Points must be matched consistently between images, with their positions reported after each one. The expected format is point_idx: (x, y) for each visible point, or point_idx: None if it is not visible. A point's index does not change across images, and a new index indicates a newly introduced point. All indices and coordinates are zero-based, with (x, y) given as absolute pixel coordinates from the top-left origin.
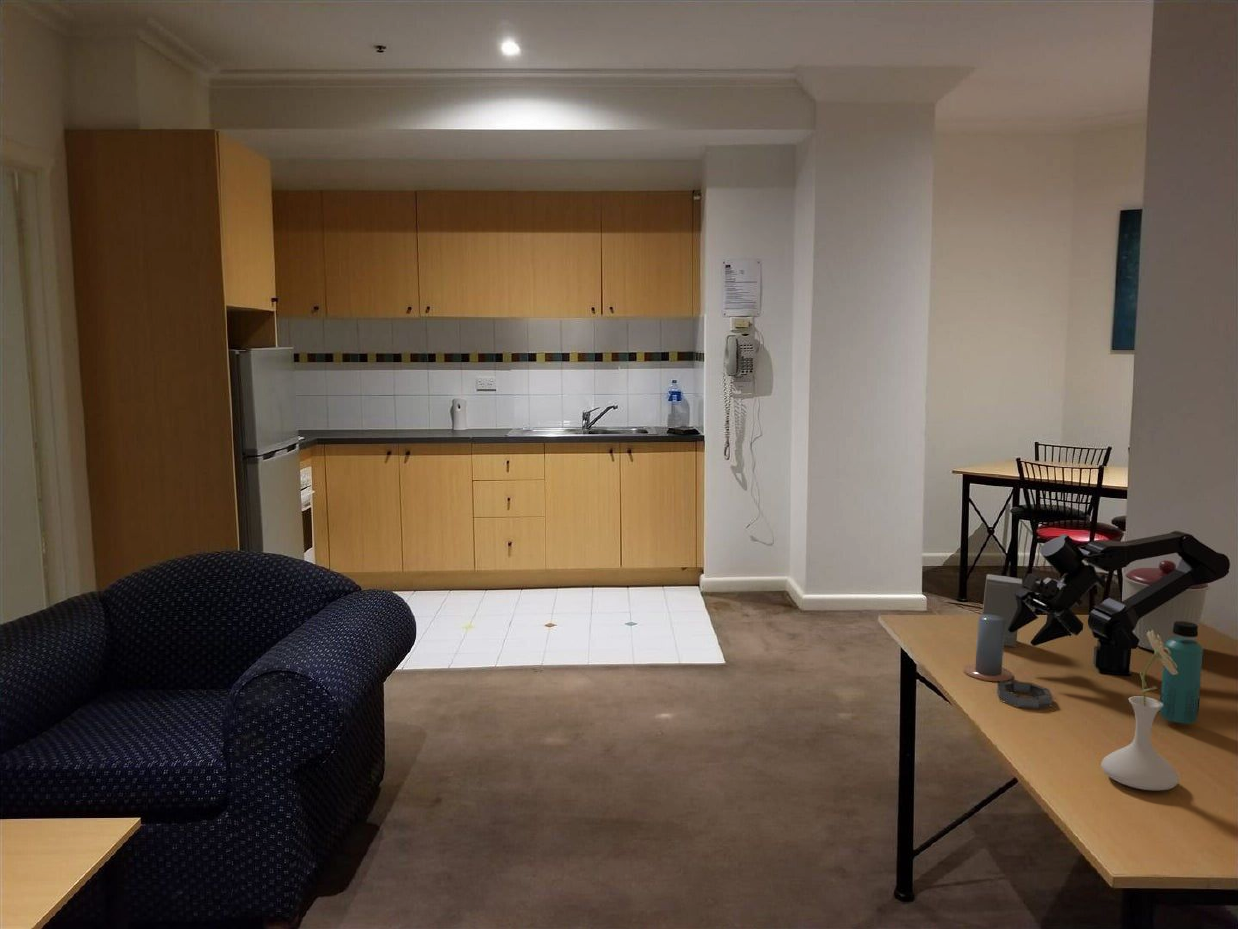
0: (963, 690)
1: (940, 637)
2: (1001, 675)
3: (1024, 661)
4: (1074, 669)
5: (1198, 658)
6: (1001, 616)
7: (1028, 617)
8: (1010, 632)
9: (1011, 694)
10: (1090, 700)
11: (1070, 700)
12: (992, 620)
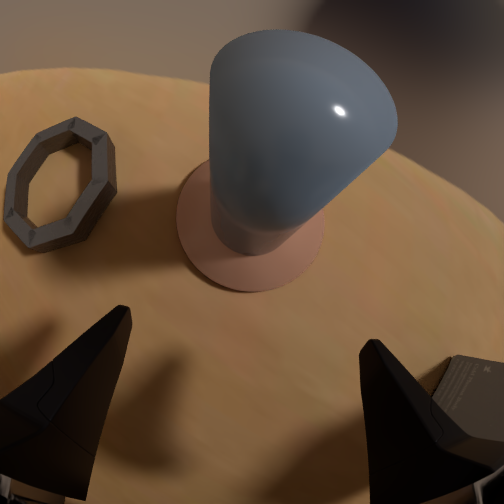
0: (164, 91)
1: (484, 281)
2: (208, 232)
3: (326, 407)
4: (228, 492)
5: None
6: (489, 412)
7: (388, 473)
8: (362, 349)
9: (50, 129)
10: (19, 352)
11: (25, 303)
12: (256, 51)
